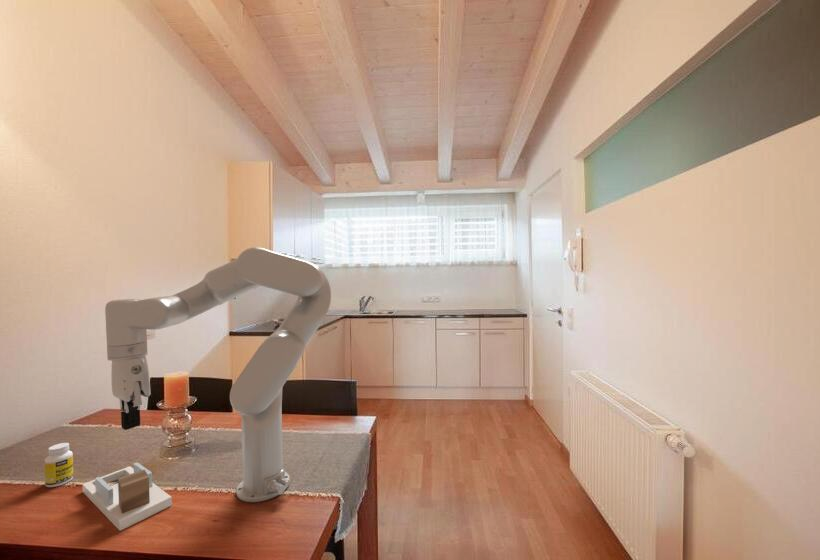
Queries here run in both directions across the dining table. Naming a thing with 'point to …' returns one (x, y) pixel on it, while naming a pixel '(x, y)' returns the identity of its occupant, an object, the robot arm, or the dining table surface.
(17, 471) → the dining table surface
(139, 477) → the walnut block
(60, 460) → the supplement bottle
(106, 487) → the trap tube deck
